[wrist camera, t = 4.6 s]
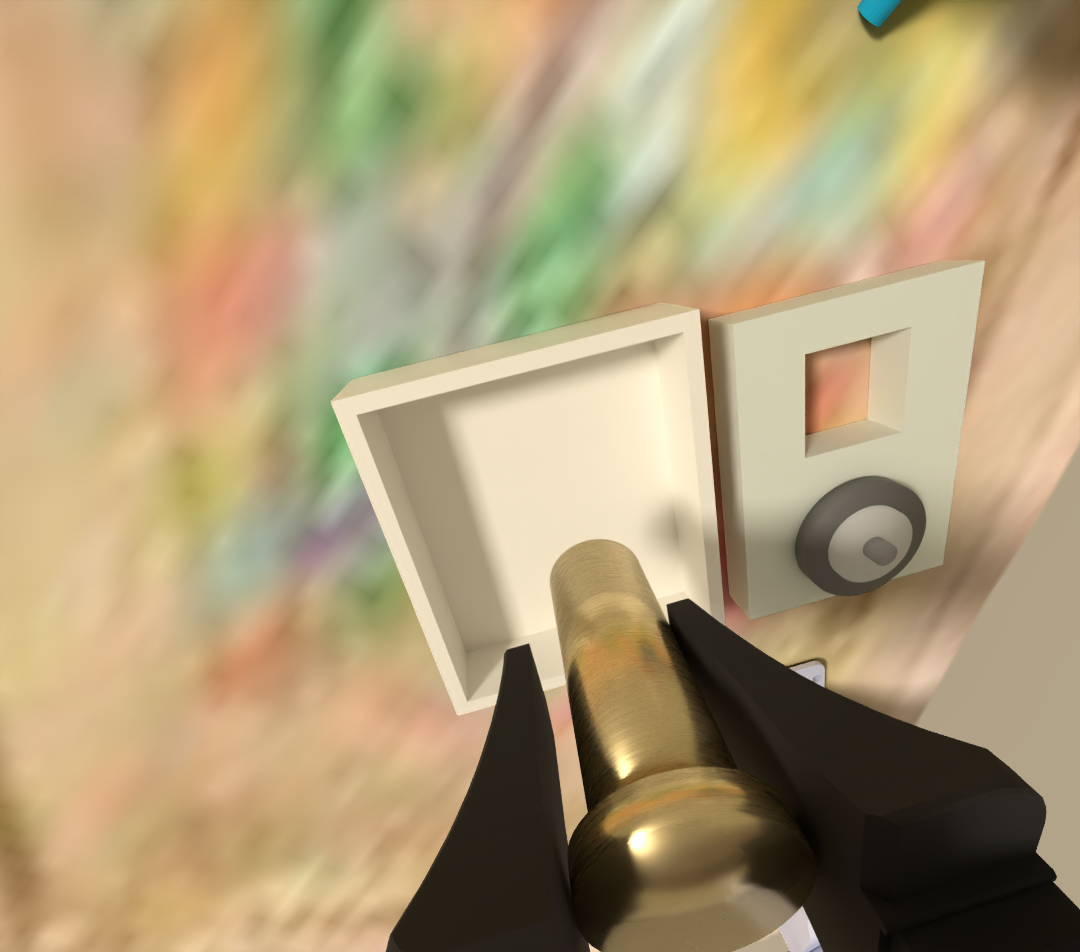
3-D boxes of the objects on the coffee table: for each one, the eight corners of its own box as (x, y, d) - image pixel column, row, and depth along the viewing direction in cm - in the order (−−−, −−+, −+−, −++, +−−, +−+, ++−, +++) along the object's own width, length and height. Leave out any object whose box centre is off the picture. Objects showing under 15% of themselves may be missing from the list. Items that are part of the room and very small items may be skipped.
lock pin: (662, 613, 17) (814, 935, 9) (547, 639, 17) (595, 983, 9) (648, 512, 15) (819, 792, 7) (521, 541, 15) (550, 852, 7)
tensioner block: (909, 544, 26) (984, 590, 22) (729, 595, 26) (775, 651, 22) (938, 260, 21) (1044, 259, 17) (708, 319, 20) (765, 331, 16)
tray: (692, 591, 25) (726, 638, 22) (457, 657, 25) (457, 715, 21) (659, 302, 20) (699, 309, 16) (352, 379, 19) (330, 401, 16)
